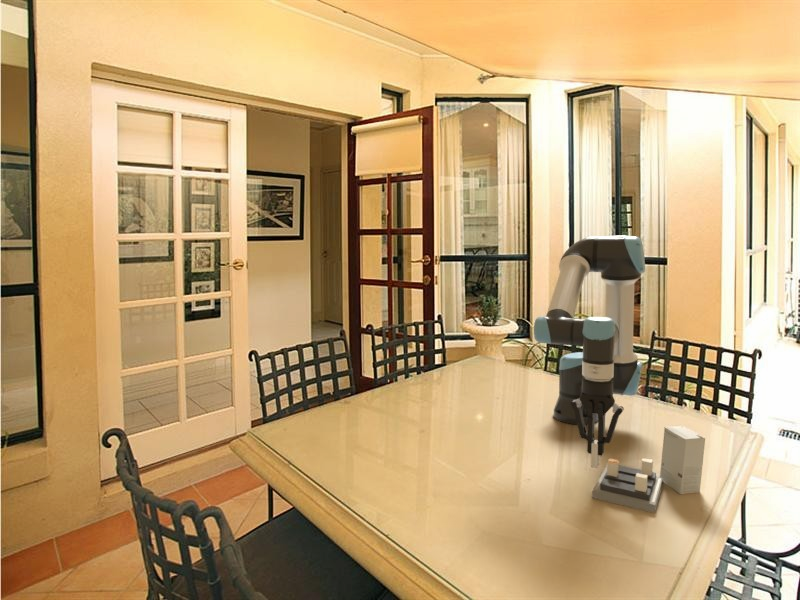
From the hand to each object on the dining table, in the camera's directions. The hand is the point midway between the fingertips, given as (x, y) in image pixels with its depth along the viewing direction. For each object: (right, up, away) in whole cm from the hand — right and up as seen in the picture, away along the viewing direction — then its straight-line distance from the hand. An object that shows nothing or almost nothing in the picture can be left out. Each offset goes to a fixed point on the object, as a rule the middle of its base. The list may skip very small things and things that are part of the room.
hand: (595, 465), depth 135 cm
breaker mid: (+4, -2, -2) cm, 5 cm away
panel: (+7, -5, -4) cm, 10 cm away
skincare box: (+21, -5, -2) cm, 22 cm away
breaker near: (+7, -2, -10) cm, 13 cm away
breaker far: (+13, -1, -2) cm, 13 cm away
